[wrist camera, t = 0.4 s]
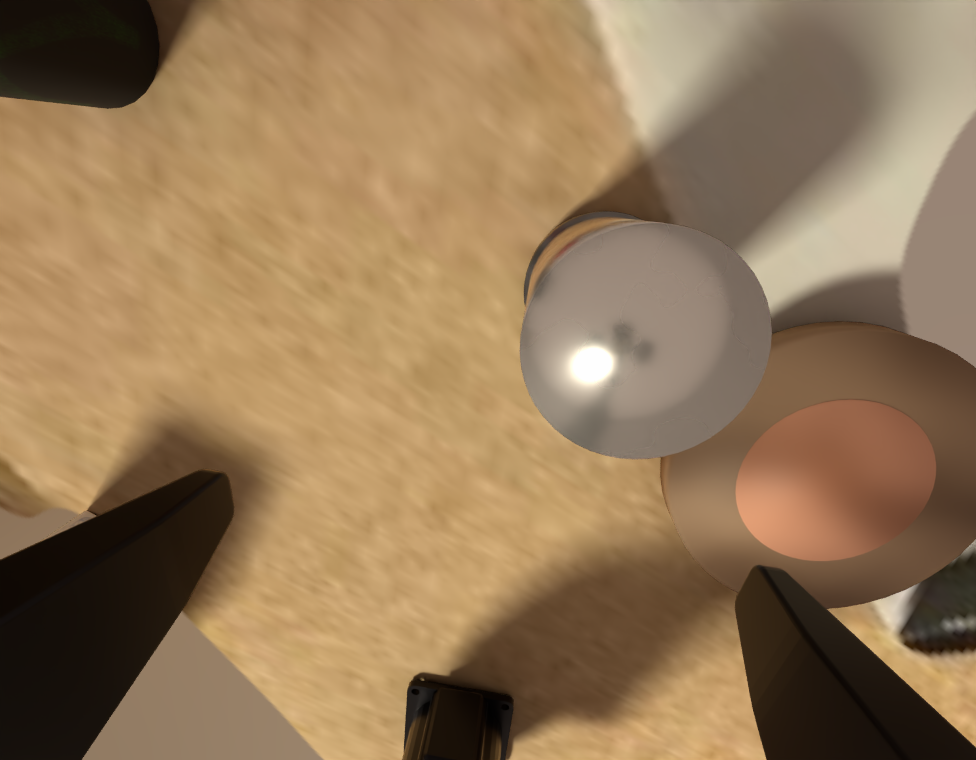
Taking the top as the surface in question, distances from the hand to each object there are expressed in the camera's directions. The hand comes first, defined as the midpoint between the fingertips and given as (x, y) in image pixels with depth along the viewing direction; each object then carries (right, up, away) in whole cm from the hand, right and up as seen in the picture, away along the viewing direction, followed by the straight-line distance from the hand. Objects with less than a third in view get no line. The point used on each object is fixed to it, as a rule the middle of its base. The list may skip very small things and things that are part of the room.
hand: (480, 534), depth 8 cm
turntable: (+15, -1, +15) cm, 21 cm away
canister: (+5, +7, +13) cm, 16 cm away
